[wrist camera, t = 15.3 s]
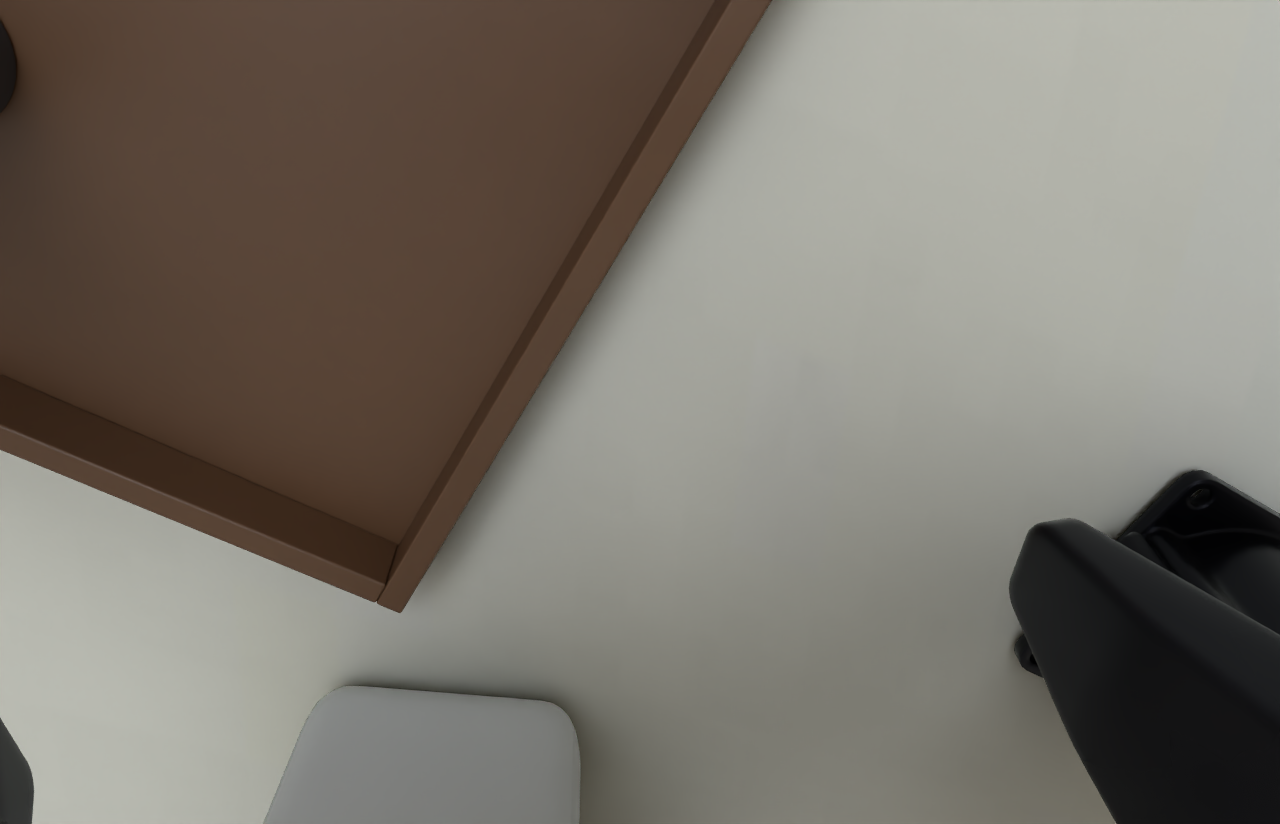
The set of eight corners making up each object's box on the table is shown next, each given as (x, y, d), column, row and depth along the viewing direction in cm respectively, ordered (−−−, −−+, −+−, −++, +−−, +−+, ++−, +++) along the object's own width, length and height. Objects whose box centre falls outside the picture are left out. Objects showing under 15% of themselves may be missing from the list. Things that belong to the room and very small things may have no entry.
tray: (804, -93, 17) (825, -85, 16) (415, 561, 24) (400, 614, 23) (-135, -740, 13) (-240, -821, 12) (-291, 261, 20) (-372, 298, 18)
